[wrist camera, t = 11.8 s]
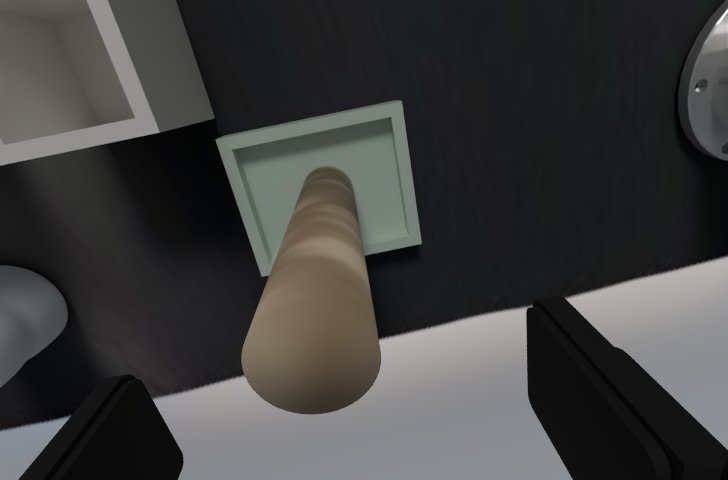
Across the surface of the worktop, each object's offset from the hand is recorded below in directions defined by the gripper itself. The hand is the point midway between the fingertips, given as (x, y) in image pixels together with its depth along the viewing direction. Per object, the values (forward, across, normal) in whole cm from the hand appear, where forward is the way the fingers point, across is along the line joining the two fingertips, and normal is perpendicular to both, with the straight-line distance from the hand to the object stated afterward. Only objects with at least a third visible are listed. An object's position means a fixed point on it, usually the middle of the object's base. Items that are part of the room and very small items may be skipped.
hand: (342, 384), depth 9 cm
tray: (+20, +1, 0) cm, 20 cm away
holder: (+19, +11, -10) cm, 25 cm away
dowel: (+19, +1, 0) cm, 19 cm away
